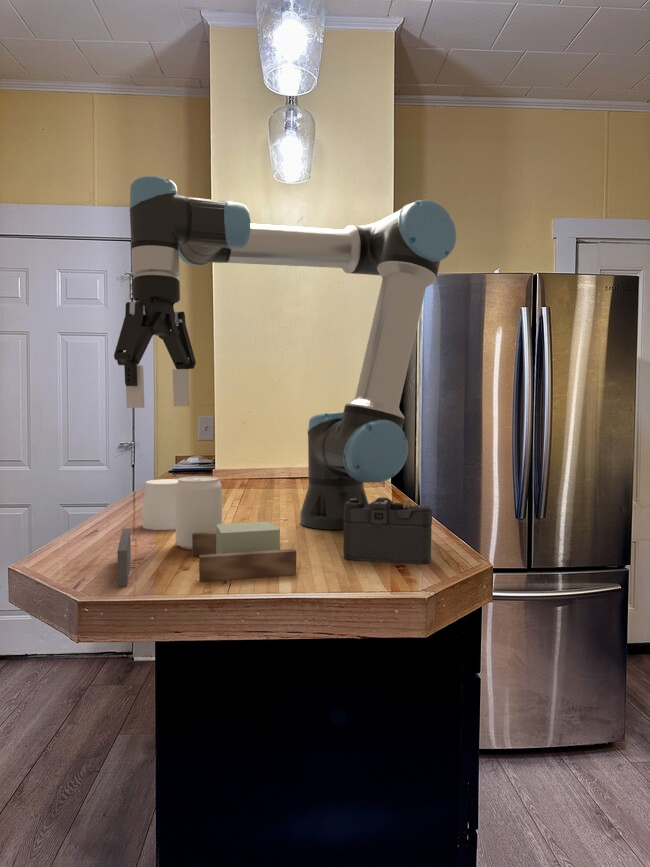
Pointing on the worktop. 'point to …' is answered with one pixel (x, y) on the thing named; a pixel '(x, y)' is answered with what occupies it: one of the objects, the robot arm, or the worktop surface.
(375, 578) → the worktop surface
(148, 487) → the mug
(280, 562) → the pair of brown rails
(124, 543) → the bar
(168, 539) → the worktop surface
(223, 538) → the block
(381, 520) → the camera
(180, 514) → the beverage can
